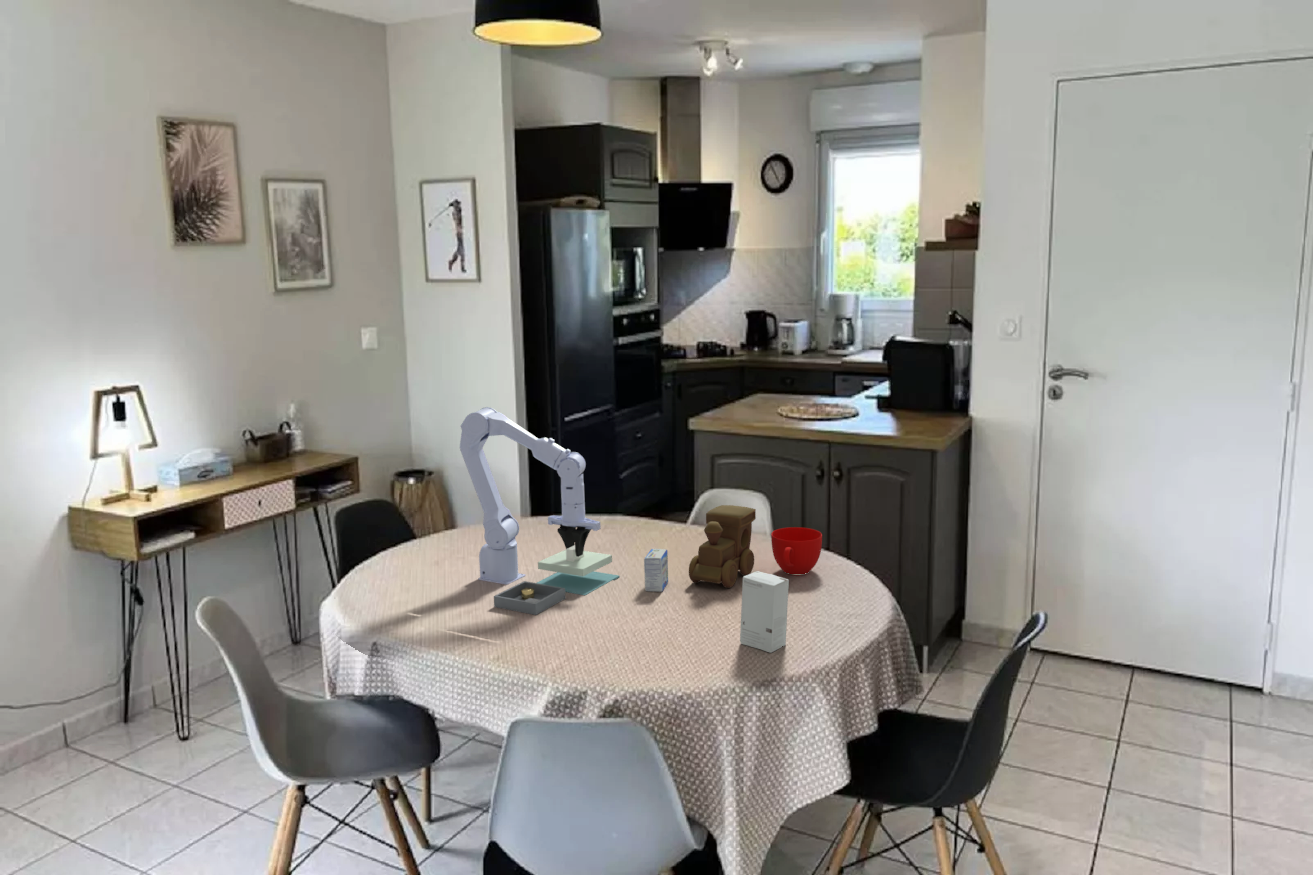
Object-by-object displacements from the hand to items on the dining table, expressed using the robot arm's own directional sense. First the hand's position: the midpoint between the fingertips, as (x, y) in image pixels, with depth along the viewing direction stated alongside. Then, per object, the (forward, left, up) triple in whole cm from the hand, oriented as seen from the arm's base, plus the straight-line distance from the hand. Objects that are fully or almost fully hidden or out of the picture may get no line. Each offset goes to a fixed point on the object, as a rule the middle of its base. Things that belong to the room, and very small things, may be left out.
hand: (575, 554), depth 244 cm
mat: (0, 0, -7) cm, 7 cm away
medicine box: (+20, +6, -8) cm, 22 cm away
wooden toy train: (+32, +19, -8) cm, 38 cm away
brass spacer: (-4, -16, -7) cm, 17 cm away
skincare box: (+58, -16, -8) cm, 61 cm away
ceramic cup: (+47, +30, -8) cm, 56 cm away
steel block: (+1, -20, -7) cm, 21 cm away
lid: (0, 0, -2) cm, 2 cm away
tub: (-1, -18, -7) cm, 19 cm away
